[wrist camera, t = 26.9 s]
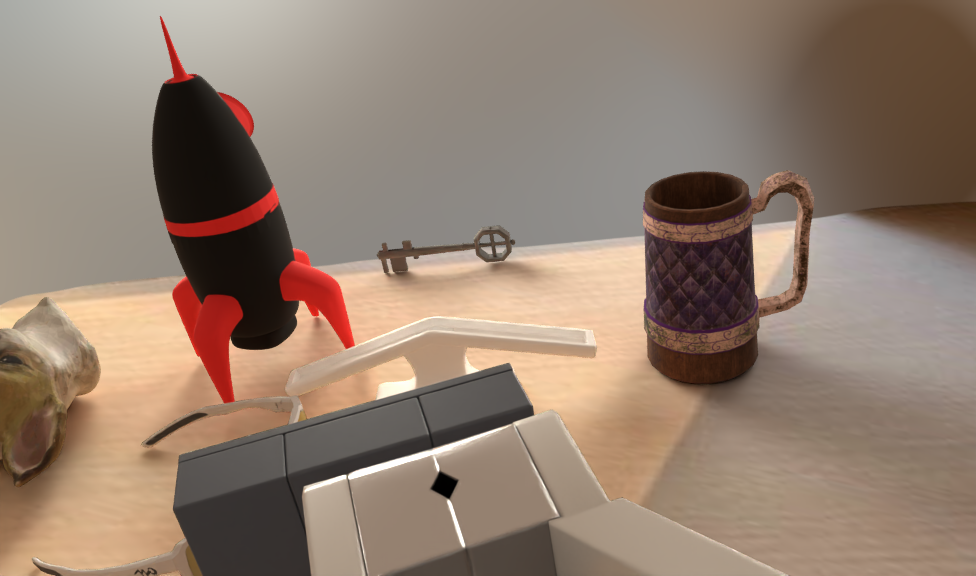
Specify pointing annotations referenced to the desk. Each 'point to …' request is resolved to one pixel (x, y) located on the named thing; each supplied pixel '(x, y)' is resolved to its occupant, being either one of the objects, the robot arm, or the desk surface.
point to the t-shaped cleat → (439, 351)
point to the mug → (712, 272)
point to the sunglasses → (181, 557)
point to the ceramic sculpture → (40, 387)
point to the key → (447, 249)
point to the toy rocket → (229, 229)
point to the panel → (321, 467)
